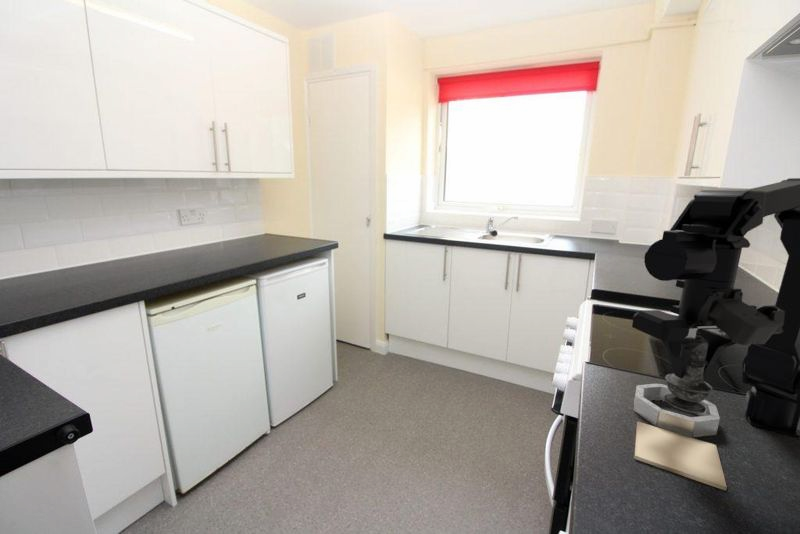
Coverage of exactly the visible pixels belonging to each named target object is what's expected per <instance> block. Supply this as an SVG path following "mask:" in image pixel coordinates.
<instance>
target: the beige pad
mask: <svg viewBox="0 0 800 534" xmlns="http://www.w3.org/2000/svg"><path fill="white" fill-rule="evenodd" d="M635 431H636V432H635V444H634V457H633V458H634V460H637V461H640V462H642V463H645V464H649V465H652V466H654V467H656V468H660V469H663V470H664V471H667V472H671V473H675V474H677V475H680V476H683V477H685V478H688V479H691V480H694V481H696V482H699V483H702V484H705V485H707V486H708V485H709V486H711V487H714V488H716V489H720V490H721V491H722V490H723V491H727V487H728V485H727V483H726V478H725V473H724V470H723V467H722V463H721V460H720V456H719V451H718V448H717V444H714V443H711V442H707V441H703V440H700V439H697V438H695V437H689V436H686V435H682V434H679V433H676V432H672V431H669V430H666V429H662V428H659V427H657V426H655V425H652V424H648V423H644V422H641V421H637V422H636V430H635Z"/></svg>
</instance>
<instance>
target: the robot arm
mask: <svg viewBox="0 0 800 534" xmlns="http://www.w3.org/2000/svg"><path fill="white" fill-rule="evenodd" d="M772 215H773V216H774V217H773V218H774V219H775V220H776V222H777V224H778V225H779V226H780V229H781V231H780V236H779V237H780V238H779V239H780V243H781V244H782V246H783V247H784V249H785V251H786V253H787V255H788V257H787V261H786V265H785V268H784V272H783V275H782V278H781V279H782V280H781V283H780V287H779V290H778V293H777V297H776V301H775V304H774V305H763V306H761V307H758V308H757V306H756V305H749V304H747V303H746V302H744V301H743V295H744V292H743V291H742V288H739V287H735V282H736V279H737V275H738V273H737V272H738V268H739V265H740V260H741V255H742V251H743V249H745V248H750V246H751V242H750V241H749V239H747V238H746V237H745V236H746V234H747V233H748V232H750V231H752V230H754V229H756V228H758V227H759V226H762V224H763V223H764V218H765V217H768V216H772ZM643 259H644V262H643V263H644V266H645V268H646V271H647V272H648V274H649V276H652V277H653V278H654V279H657V280H658V281H661V282H662V281H663V282H666V281H667V282H669V281H671V282H672V281H676V283H675V287H677V288H681V294H680V300H679V305H671V309H670V312H671V313H673V314H676V315H678V316H676V315H673V314H671V313H668V312H665V311H662V310H660V309H648V310H647V309H646V310H638V311H637V312H635V313H634V314H633V319H632V325H631V328H632V329H635V330H637V331H640V332H642V333H644V334H646V335H648V336H651V337H654V338H655V339H656V340H657V339H658V340H659V341H661V343H662V345H663V347H664V350H665V351H666V354H667V357H668V360H669V363H670V365H671V368H672V371H673V374H675V376H677V377H679V378H683V377H684V375H685V372H686V370H687V366H688V363H689V359H690V356H691V352H692V349H693V348H694V347H696V346H698V345H700V344H702V343H703V342H702V341H700V340H697V339H695V336H696V332H698V331H699V332H700V336H701V337H702V338H704V339H705V340H706V341H707V342H708V349H707V354H706V359H705V360H706V361H707V362H708V364H707V365H705V367H704V372H703V378H704V377H705V376H706V375H707V373H708V372H709V371H710V370H711V368H712V366H713V365H714V363H715V362H716V360H717V359H718V358H719V357H720V356H721V354H722V353H723V352H724V351H725V350H726V349H727V348H728V347H730V346H733V345H736V344H738V345H741V346H747V354H746V355H745V357H744V359H743V361H742V366H741V367H742V383H743V384H744V385H749V386H751V390H747V391H746V395H745V399H744V403H743V406H742V410H743V413H744V415H745V416H746V417H747V420H748V423H749V424H750V425H753V426H756V427H759V428H763V429H766V430H769V431H770V430H771V431H772V432H773V431H774V432H777V433H781V434H783V435H784V434H785V435H789V436H792V437H796V438H800V431H799V430H798V427H799V423H800V178H799V177H798V178H797V177H794V178H792V177H790V178H787V179H783V180H781V181H780V182H779V181H777V182H775V183H770V184H766V185H761V186H758V187H757V186H756V187H752V188H749V189H744V190H743V189H742V190H741V189H739V190H738V189H737V190H735V189H734V190H732V189H731V190H725V189H723V190H721V189H719V190H718V189H717V190H716V189H715V190H714V189H713V190H712V189H711V190H710V189H707V190H706V189H704V190H702V189H701V190H700V191H698V192H696V193H695V194H694V195H693V198H692V199H691V200H690V201H688V204H687V205H686V207H685V208H684V209H683V211H682V212H681V214H680V215H679V216H678V217H677V219H676V220H675V222H674V223H673V225H672V226H671V228H670V230H664V231H663V233H662V239H659V240H656V241H654V242H653V243H652V244H651V245H650V246H649V248H648V250H647V251H646V252H645V253H644V257H643Z"/></svg>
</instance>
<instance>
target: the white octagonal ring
mask: <svg viewBox="0 0 800 534" xmlns="http://www.w3.org/2000/svg"><path fill="white" fill-rule="evenodd" d="M635 388H636V389H635V395H634V402H633V411H634V412H635V413H636V414H637V415H639V416H640V417H642V418H644V419H645V420H646V421H647V422H648V423H650V424H651V425H652V426H654V427H658V428H661V429H664V430H668V431H671V432H674V433H678V434H681V435H684V436H688V437H691V438H699V437H706V436H709V437H710V436H716V435H717V433H718V428H719V425H720V420H721V417H720V415H719V411H718V408H717V406H716V404H714V403H712V402H711V401H708V400H707V399H705V400H703V401H700V403H702V404H703V405H704V406H705V408H706V410H705V412H704V413H694V414H695V415H697V416H691V417H690V416H689V415H688V416H687V415H684V414H681V413H677V412H673V411H671V410H670V411H669V410H666V409H663V408H661V407H660V406H658V405H656V404H655V403H653V401H652V400H655V401H660V400H662V401H661V402H664V401H665V400H664V396H665V395H667V394H672V393H671V392H670V390H669V389H668V386H667V384H663V383H662V384H661V383H649V384H648V383H647V384H646V383H645V384H638V385H636V387H635Z"/></svg>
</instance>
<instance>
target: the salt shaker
mask: <svg viewBox="0 0 800 534" xmlns="http://www.w3.org/2000/svg"><path fill="white" fill-rule="evenodd" d="M695 339H697V340H700V341H702V342H703V343H702V344H700V345H698V346H696V347H694V348H693V349H692V352H691V356H690V359H689V363H688V366H687V370H686V372H685V375H684V377H683V378H679V377H677V376H675V374H674V373H668V374H666V375H665V378H664V379H665V380H666V385H667V386H668V389H669V390H670V392H671V393H672V394H667V395H665V396H664V400H665V401H666V402H665V403H667V404H668V405H670V406H671V407H673V408H675V409H678V410H679V411H682V412H683V411H684V412H687V413H693V414H695V413H704V412H705V410H706V408H705V406H704V405H703V404H702V403H700V401H703V400H707V398H708V397H709V394H710V393H712V392H713V386H712V385H710V384H709V383H708V382H706V381H705V380H704V377H703V372H704V367H705V365H707V364H708V362H707V361H706V360H705V359H706V354H707V349H708V342H707V341H706V340H705V339H704V338H702V337H701V336H700V332H699V331H698V332H696V336H695Z"/></svg>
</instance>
